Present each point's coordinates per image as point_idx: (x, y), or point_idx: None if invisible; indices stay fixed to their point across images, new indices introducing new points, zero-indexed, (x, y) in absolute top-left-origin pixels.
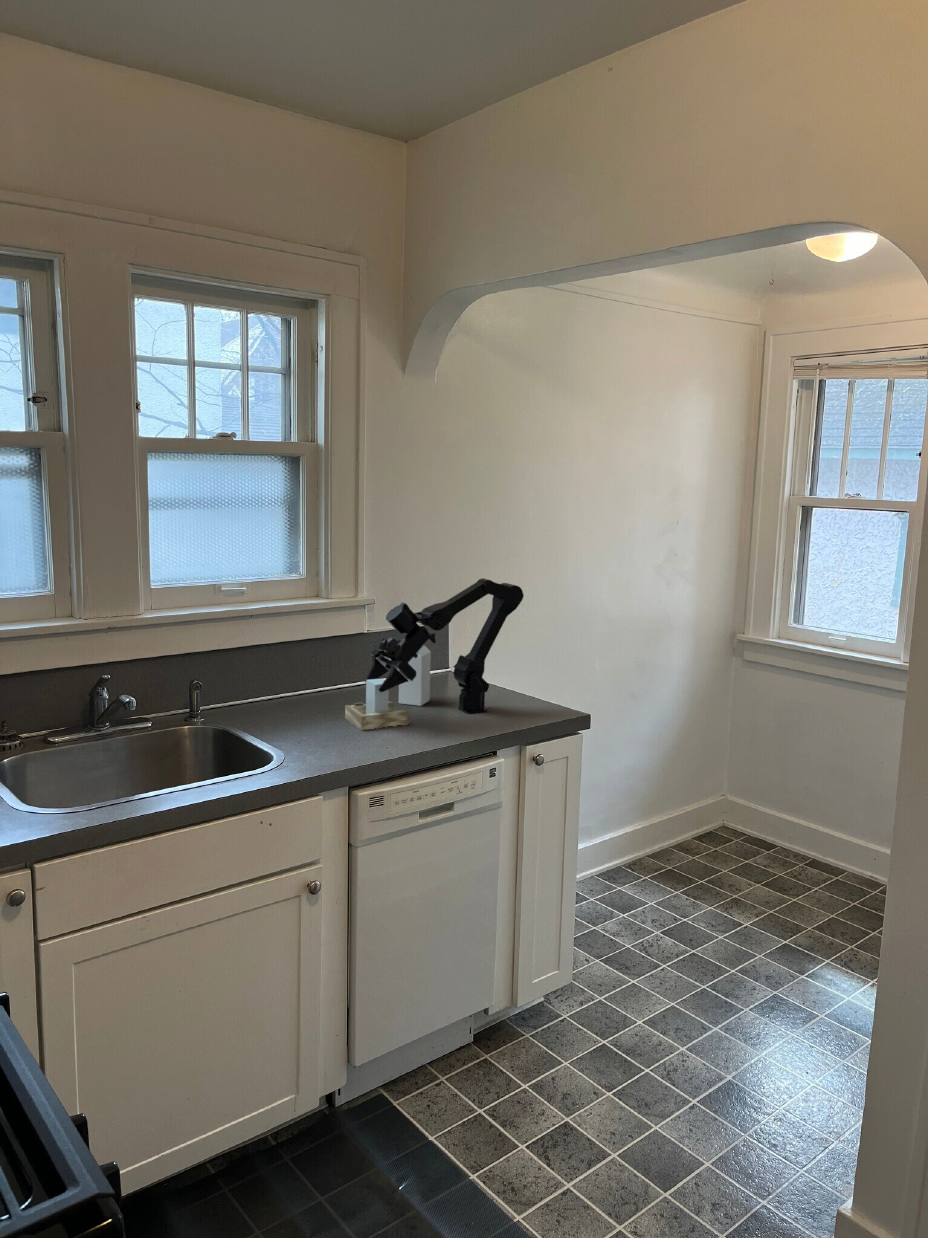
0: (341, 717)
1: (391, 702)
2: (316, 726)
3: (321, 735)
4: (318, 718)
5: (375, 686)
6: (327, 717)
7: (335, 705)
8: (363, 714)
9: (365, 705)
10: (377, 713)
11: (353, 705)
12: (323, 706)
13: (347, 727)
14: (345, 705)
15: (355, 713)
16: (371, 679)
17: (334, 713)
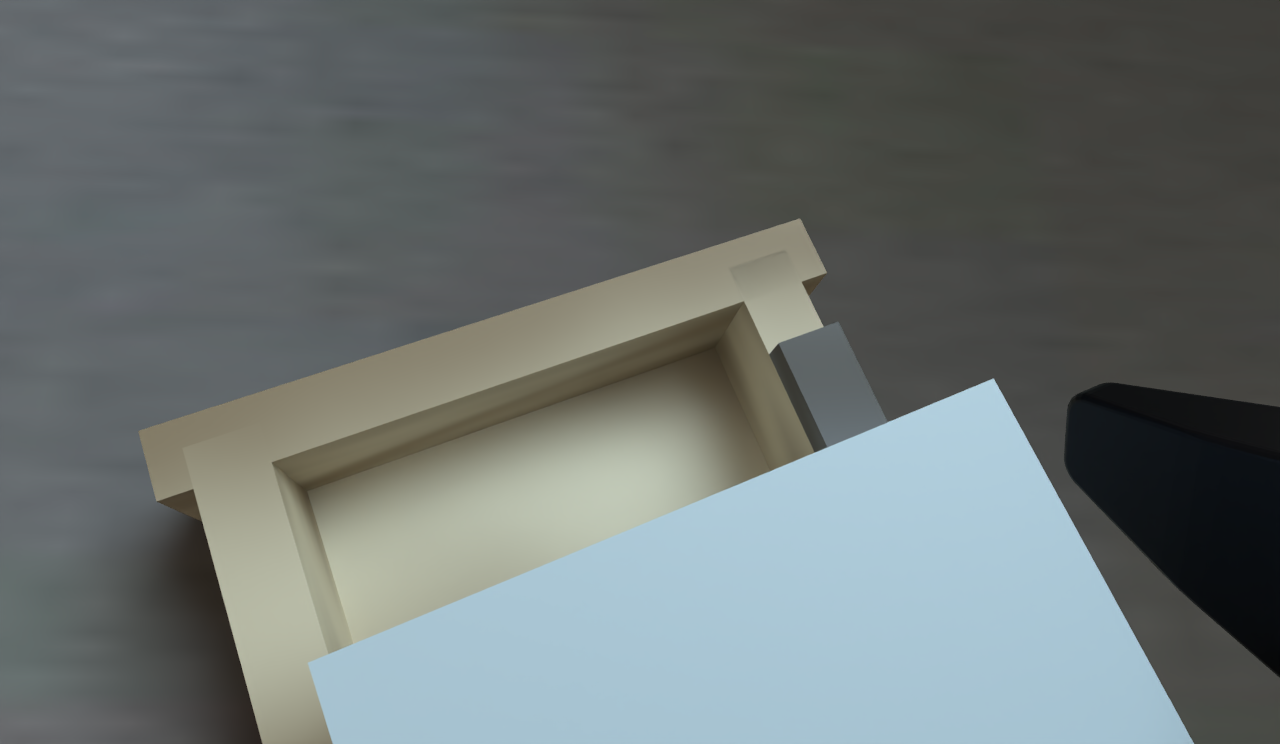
0: None
1: None
2: (442, 5)
3: (79, 33)
4: (742, 37)
5: (324, 677)
6: (785, 120)
7: (1250, 214)
8: None
9: None
10: (313, 715)
11: (807, 328)
12: (1185, 101)
13: (374, 311)
14: (796, 221)
15: (409, 349)
16: (1076, 542)
17: (946, 193)
